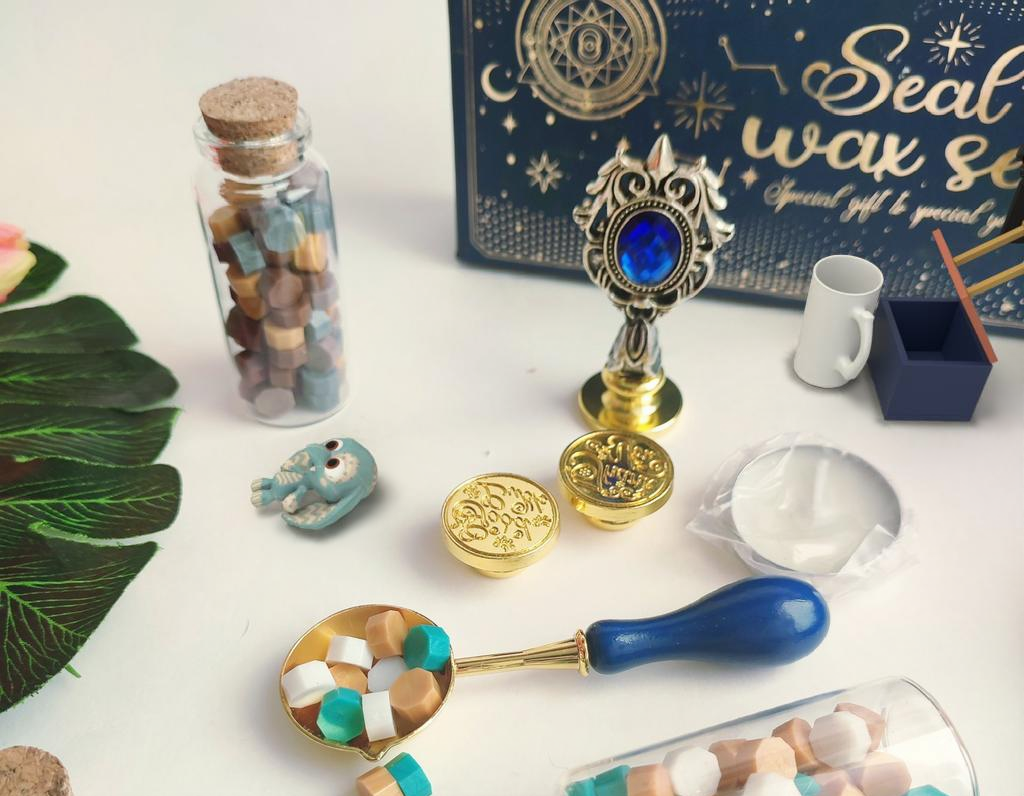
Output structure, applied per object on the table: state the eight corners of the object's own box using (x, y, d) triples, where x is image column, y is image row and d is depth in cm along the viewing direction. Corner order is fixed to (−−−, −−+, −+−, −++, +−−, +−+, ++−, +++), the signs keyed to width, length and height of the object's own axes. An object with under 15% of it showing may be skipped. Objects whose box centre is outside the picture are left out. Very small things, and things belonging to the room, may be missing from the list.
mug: (780, 354, 116) (802, 259, 107) (838, 345, 117) (865, 250, 108) (818, 415, 109) (845, 319, 101) (879, 405, 110) (911, 310, 102)
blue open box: (884, 420, 109) (903, 364, 104) (863, 351, 116) (880, 296, 111) (970, 421, 109) (993, 366, 103) (943, 352, 116) (964, 297, 111)
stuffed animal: (235, 424, 101) (359, 393, 100) (263, 476, 106) (380, 446, 105) (232, 507, 93) (366, 474, 93) (262, 558, 99) (389, 526, 98)
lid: (960, 299, 98) (1063, 252, 94) (932, 231, 105) (1026, 185, 101) (991, 364, 103) (1090, 322, 99) (961, 295, 111) (1052, 254, 107)
